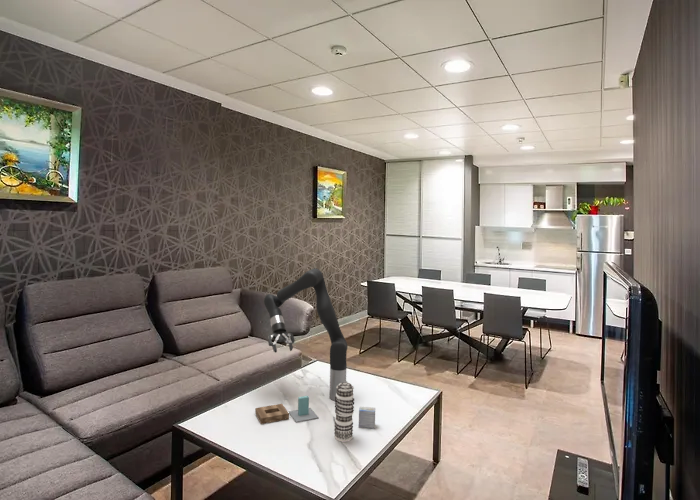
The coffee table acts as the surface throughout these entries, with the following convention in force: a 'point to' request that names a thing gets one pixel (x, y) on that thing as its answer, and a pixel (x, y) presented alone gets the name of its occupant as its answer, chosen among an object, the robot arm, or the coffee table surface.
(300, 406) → the teal rectangular block
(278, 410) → the holder
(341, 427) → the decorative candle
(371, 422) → the medicine box
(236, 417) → the coffee table surface
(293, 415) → the mat
